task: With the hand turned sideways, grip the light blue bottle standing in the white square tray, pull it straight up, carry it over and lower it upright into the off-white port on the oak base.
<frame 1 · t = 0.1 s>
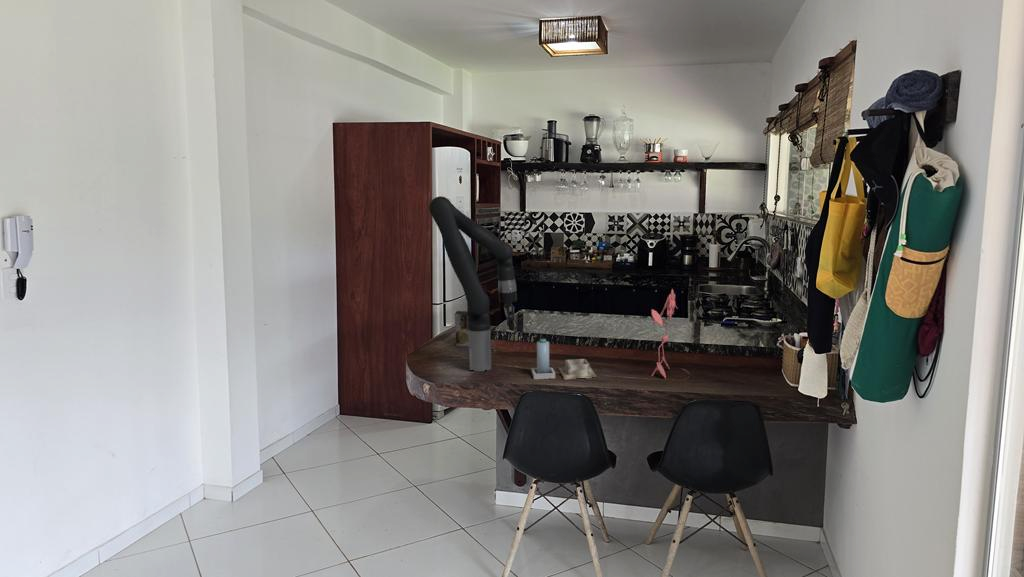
hand: (510, 327, 299), 17 cm above the counter, tool pointing down, fingers open, 8 cm apart
pink branching plant: (670, 375, 287), on the counter
coffee box: (466, 345, 342), on the counter
light blue bottle: (543, 357, 288), in the white square tray
white square tray: (543, 375, 290), on the counter
port: (577, 374, 291), on the counter
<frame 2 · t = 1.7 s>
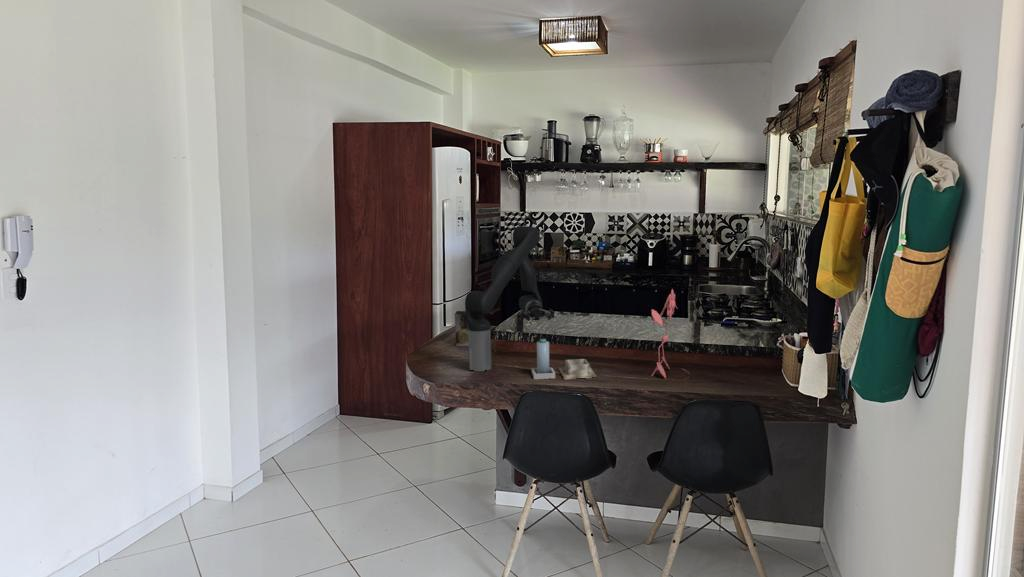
hand: (539, 317, 297), 22 cm above the counter, tool horizontal, fingers open, 8 cm apart
nothing on the counter moved.
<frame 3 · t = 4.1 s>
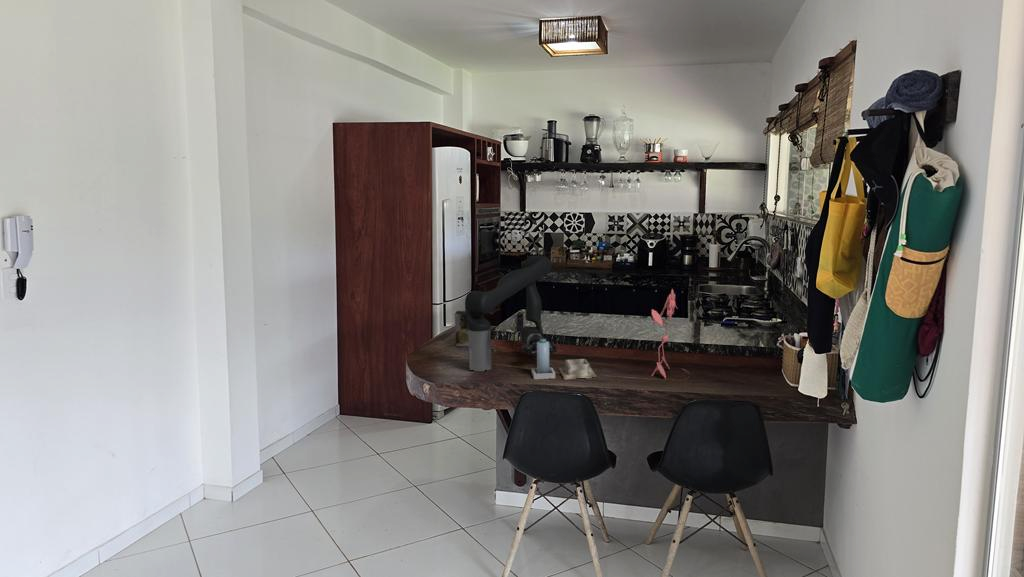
hand: (541, 352, 294), 8 cm above the counter, tool horizontal, fingers open, 8 cm apart
nothing on the counter moved.
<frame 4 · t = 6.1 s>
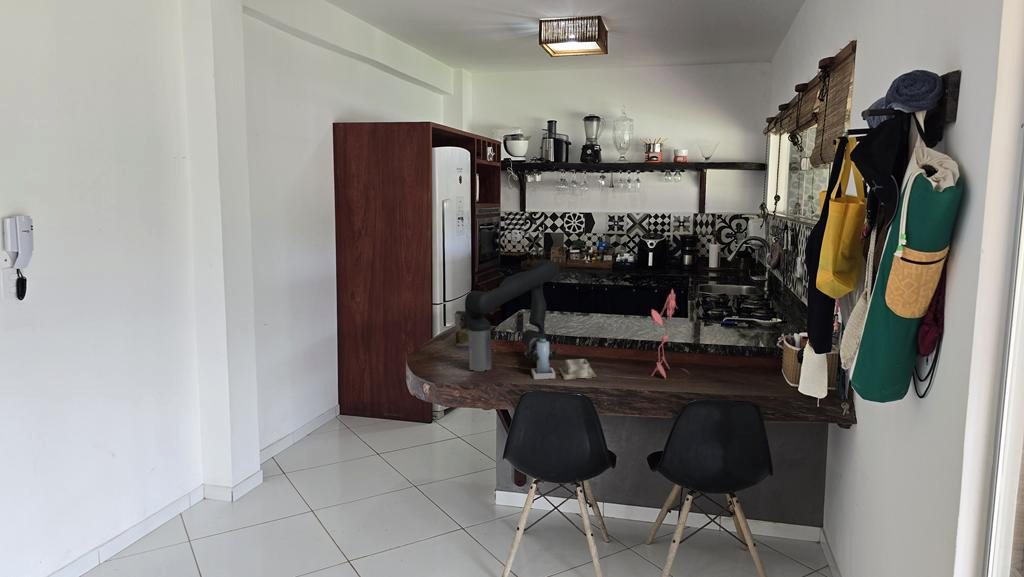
hand: (544, 358, 286), 8 cm above the counter, tool horizontal, fingers closed on light blue bottle, 5 cm apart
light blue bottle: (543, 357, 288), in the white square tray, touching gripper
everything else where it was.
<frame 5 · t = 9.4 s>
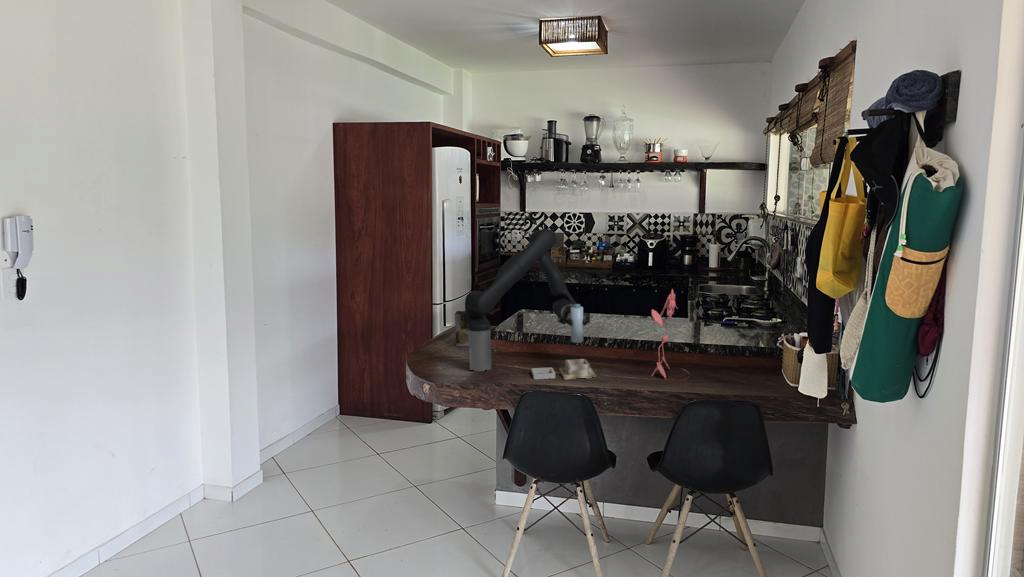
hand: (578, 323, 284), 22 cm above the counter, tool horizontal, fingers closed on light blue bottle, 5 cm apart
light blue bottle: (577, 322, 287), point 21 cm above the counter, touching gripper
everything else where it was.
when the fingers open (10 cm above the counter, at t = 12.6 s): light blue bottle drops 1 cm, resting on port.
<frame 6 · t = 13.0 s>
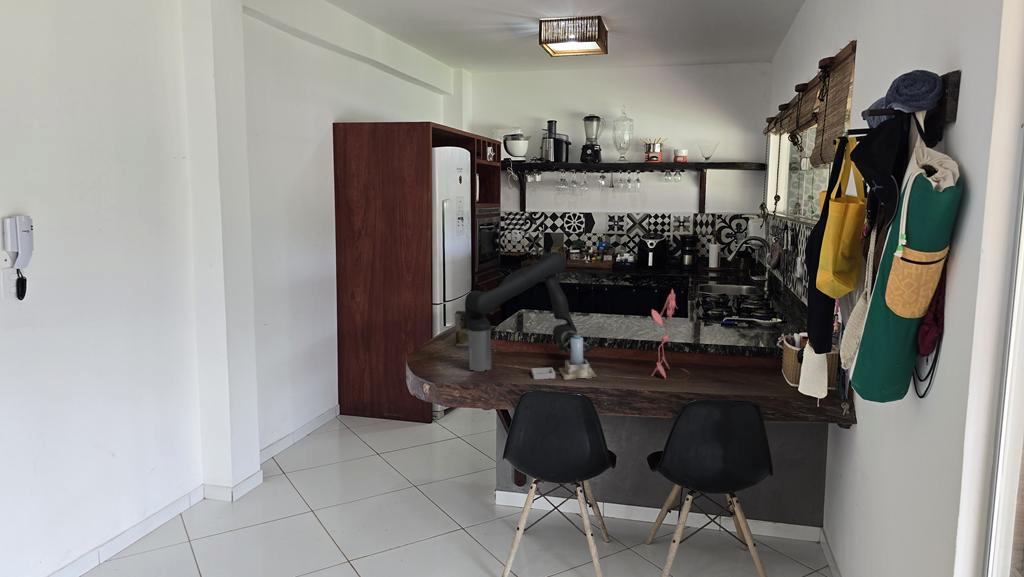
hand: (577, 350, 287), 11 cm above the counter, tool horizontal, fingers open, 8 cm apart
light blue bottle: (576, 353, 289), in the port, point 9 cm above the counter
everything else where it was.
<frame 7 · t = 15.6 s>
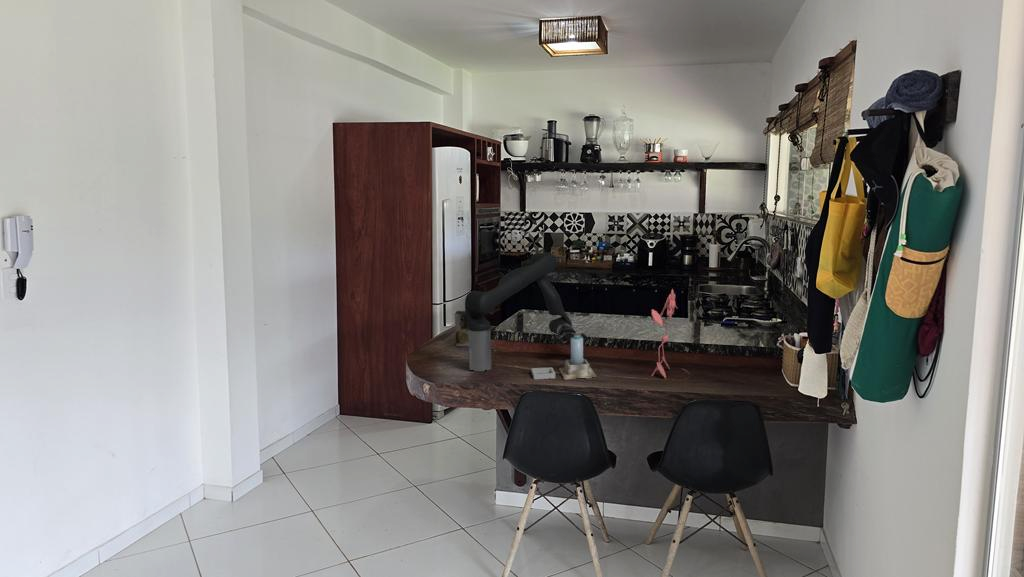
hand: (572, 342, 300), 11 cm above the counter, tool horizontal, fingers open, 8 cm apart
nothing on the counter moved.
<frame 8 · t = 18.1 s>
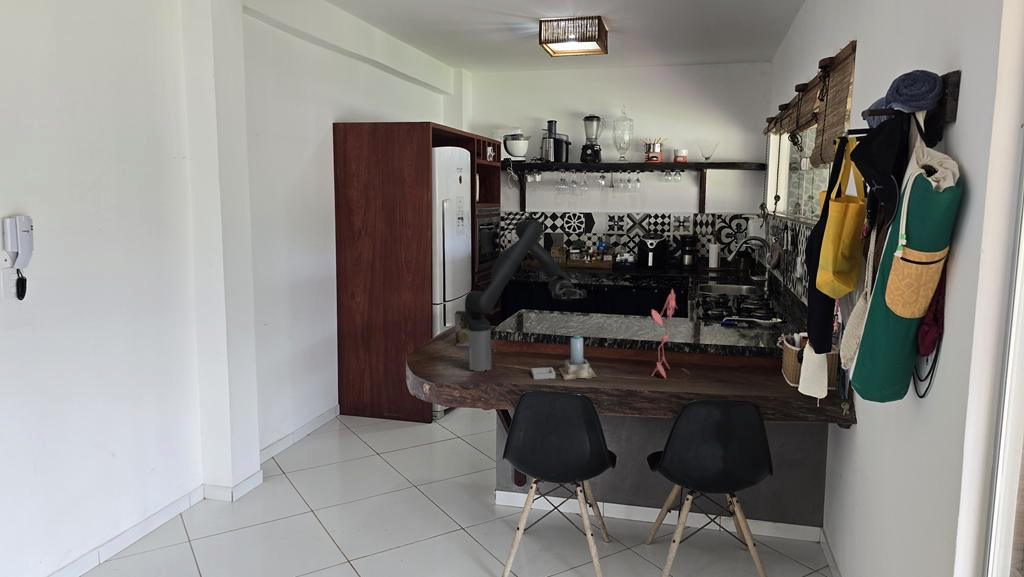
hand: (572, 297, 296), 30 cm above the counter, tool horizontal, fingers open, 8 cm apart
nothing on the counter moved.
at the end: light blue bottle 0.1 cm off-centre on the port, point 8.6 cm above the port's base; light blue bottle tilted 0°; the gripper is holding nothing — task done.
